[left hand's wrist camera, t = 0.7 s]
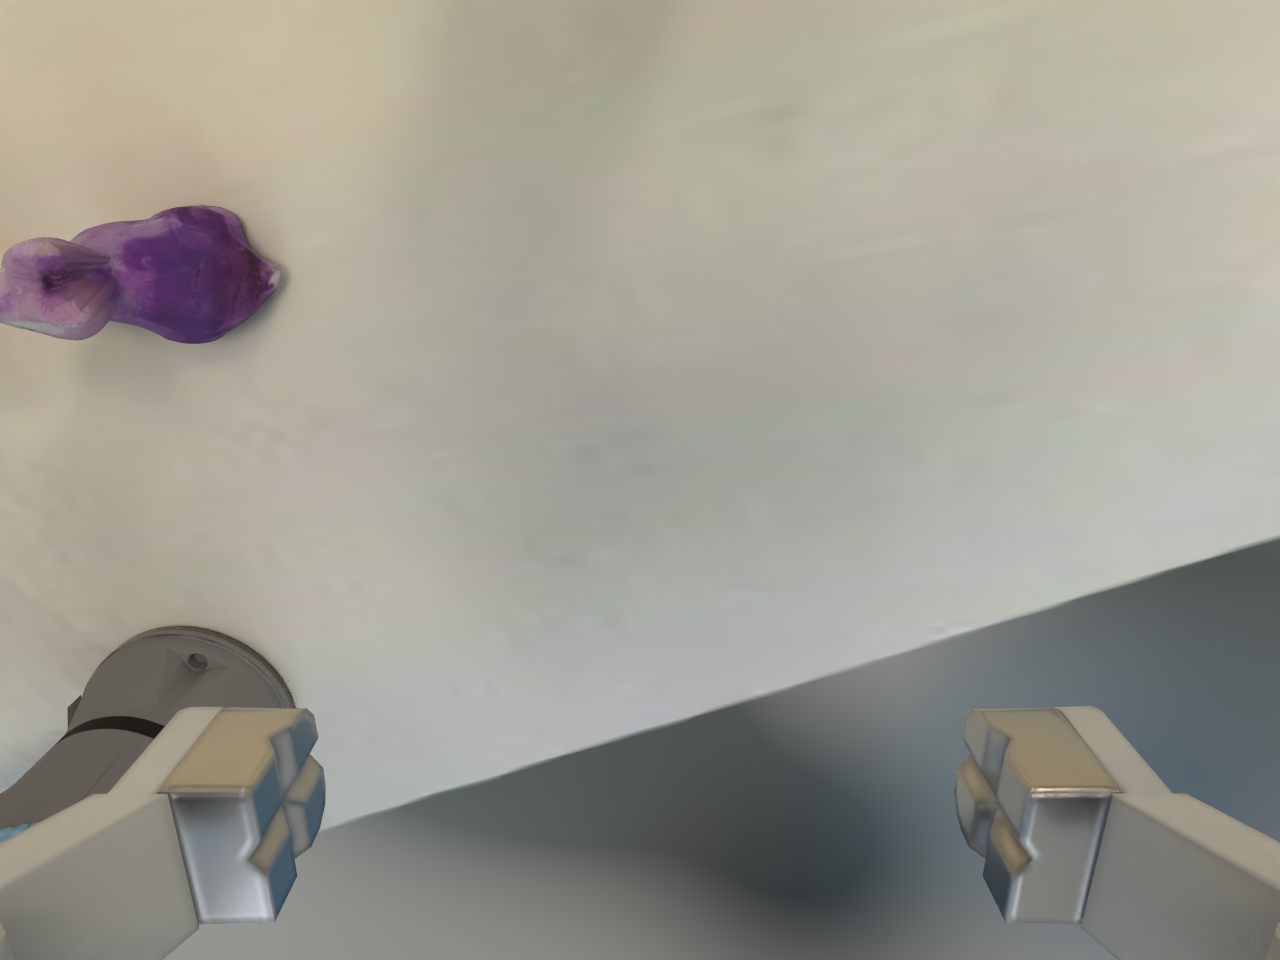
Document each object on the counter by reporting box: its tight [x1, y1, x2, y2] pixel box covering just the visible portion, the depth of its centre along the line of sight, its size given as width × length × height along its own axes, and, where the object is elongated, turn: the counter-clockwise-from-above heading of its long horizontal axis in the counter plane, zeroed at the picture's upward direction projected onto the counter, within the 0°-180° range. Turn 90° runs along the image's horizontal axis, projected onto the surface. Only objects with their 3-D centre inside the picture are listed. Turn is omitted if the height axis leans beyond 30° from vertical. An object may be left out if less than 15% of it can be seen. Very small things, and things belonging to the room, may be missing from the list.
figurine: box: [0, 205, 281, 344], centre depth 48 cm, size 9×10×15 cm
